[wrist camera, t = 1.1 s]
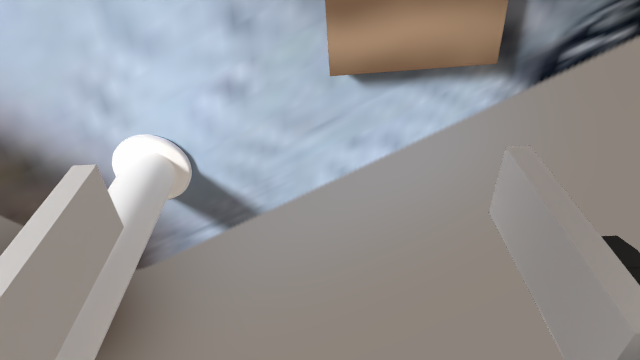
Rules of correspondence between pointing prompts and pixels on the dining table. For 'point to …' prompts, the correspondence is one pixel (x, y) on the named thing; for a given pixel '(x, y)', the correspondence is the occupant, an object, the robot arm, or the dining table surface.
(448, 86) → the dining table surface
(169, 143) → the candle
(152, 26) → the dining table surface
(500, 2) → the walnut base
